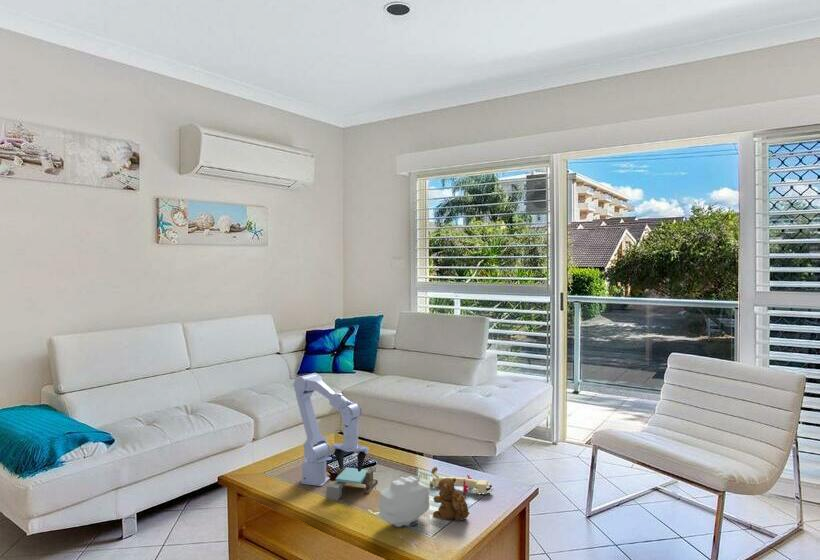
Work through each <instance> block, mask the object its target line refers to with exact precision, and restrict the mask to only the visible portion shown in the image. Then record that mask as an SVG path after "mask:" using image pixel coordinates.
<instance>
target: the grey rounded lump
mask: <svg viewBox="0 0 820 560" xmlns="http://www.w3.org/2000/svg"><path fill="white" fill-rule="evenodd" d="M420 480H421V473H419V474H418V476H416V477H414V476H412V475H410V476H406V477H403V476H400V477H399V478H398V479H397V480H393V481H392V482H391V483H390V485H389V486H388V487H386V488H385V489H383V490H382V491H381V492H380V493H379V501H378V504H377V506H378V509H379V513H378V514H379V518H381V520H383V521H384V522H385V523H387V524H391V525H394V526H395V527H397V528H401V527H403V526H409V525H410V524H411V523H413V522H414V523H415V522H416V521H417V520H419V518H420V517H421V516H422V515H424V514H425V513H427V512H428V511H429V508H430V496H429V494H430V490H429V487H428V485H426V484H424V483H422V482H421V481H420Z"/></svg>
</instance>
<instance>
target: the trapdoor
mask: <svg viewBox="0 0 820 560" xmlns="http://www.w3.org/2000/svg"><path fill="white" fill-rule="evenodd" d="M368 470H369V469H363V468H362V470H361V471H360V472H358V468H356V467H345V469H344V470H343V471H342V472H341V474H340V475H339V476H338V477H337V476H336V477H335V482H337V481H338V482H346V484H354V485H361V484H362V485H363V484H364V485H366V472H367V471H368Z"/></svg>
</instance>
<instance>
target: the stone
mask: <svg viewBox="0 0 820 560" xmlns="http://www.w3.org/2000/svg"><path fill="white" fill-rule="evenodd" d="M342 492H343V487H342V483H339V482H337V481H330V482H329V483H328V484H327V486H326V500H328V499H331V501H339V500H340V498H341V497H342V495H343V493H342Z"/></svg>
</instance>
